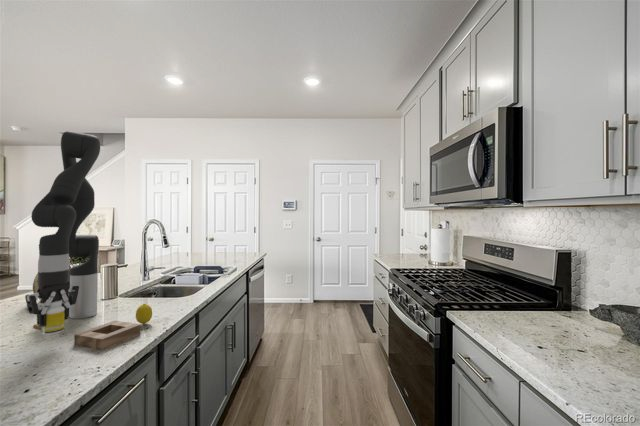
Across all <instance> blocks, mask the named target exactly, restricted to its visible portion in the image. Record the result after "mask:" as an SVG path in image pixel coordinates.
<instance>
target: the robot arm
mask: <svg viewBox="0 0 640 426" xmlns="http://www.w3.org/2000/svg"><path fill="white" fill-rule="evenodd" d="M60 151H61V158H62V166H63V171H61V172H60V173H59V174H58V175H57V176H56V177H55V178H54V181H53V183H52V185H51V187H50V189H49V192H48V193H46V195H45V196H44V197H43V198H42V199H41V200H39V202H38V203H37V204H36V205H35V207H33V209H32V212H31V221H32V223H33V224H34V225H35V226H37V227H39V228H40V227H41V228H57V231H56V232H55V233H52V234H46V235H43V236H41V237H40V238H39V244H38V253H39V256H38V261H37V273H38V287H39V288H38V290H37V292H36V293H31V294H25V296H24V298H25V302H26V307H27V311H28V314H30V315H32V314H33V315H36V324H37V325H39V326H41V327H44V326H46V314H45V313H46V311H47V308H48V307H49V306H50V304H51V302H54V301H60V300H62V305H61V306H62V307H64V308H65V321H66V320H68V318H70V319H73V320H74V319H75V320H76V319H77V320H79V319H85V318H90V317H93V316H96V315H97V314H98V287H99V286H98V280H99V279H98V277H99V274H98V273H99V271H98V269H99V267H98V265H99V264H98V263H99V262H98V261H99V251H100V249H99V247H100V242H99V241H100V239H99V236H98V235H96V234H77V232H78V230H79V228H80V226H81V225H82V223H83V222H84V221H85V220H86V219H87V218H88V217H89V215H90V214H91V213H92V212H93V210H94V208H95V190H94V188H93V187H92V185H91V183H90V182H89V181H88V179H87V178H86V177H87V175H88V174H89V172H90V171H91V169H92V168H93V166H94V164H95V162H96V161H97V159H98V158H99V155H100V153H101V142H100V138H99V137H98V136H96V135H94V134H87V133H83V132H74V131H64V132H63V133H62V135H61V139H60ZM77 159H79V160H78V161H77ZM71 258H72V259H74V258H88V260H86V261H84V262H83V263H81V264H78V265H75V266H72V267H70V259H71ZM69 269H70V286H69V284H68V282H69ZM68 291H69V294H68V297H67V295H66V293H67V292H68ZM38 296H39V297H40V298H41V299H39V298H38ZM38 299H39V301H38ZM37 301H38V302H37ZM44 302H46V303H44Z"/></svg>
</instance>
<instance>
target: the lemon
mask: <svg viewBox="0 0 640 426" xmlns="http://www.w3.org/2000/svg"><path fill="white" fill-rule="evenodd" d="M152 317H153V309H152V307H151V306H150V305H149V304H146V303H142V305H139V306H138V307H137V309H136V311H135V319H136V321H137V322H138V324H142V325H144V326H145V325H146V323H148V322H150V321H151V319H152Z"/></svg>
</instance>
